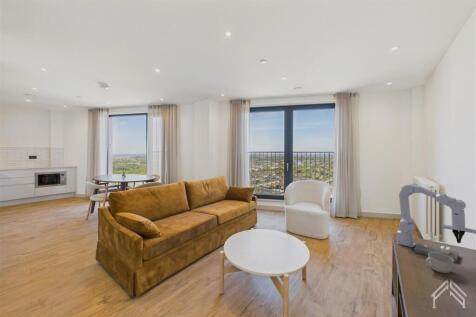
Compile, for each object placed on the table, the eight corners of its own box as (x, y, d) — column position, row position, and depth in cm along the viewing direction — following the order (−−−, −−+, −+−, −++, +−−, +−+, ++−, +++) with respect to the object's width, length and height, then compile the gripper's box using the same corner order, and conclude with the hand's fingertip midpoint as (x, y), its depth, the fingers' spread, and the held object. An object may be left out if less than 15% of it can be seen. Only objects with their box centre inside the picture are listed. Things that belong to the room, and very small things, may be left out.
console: (414, 252, 146) (413, 248, 145) (418, 246, 153) (417, 243, 153) (456, 262, 130) (456, 258, 130) (458, 255, 138) (458, 251, 138)
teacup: (443, 265, 128) (442, 252, 128) (460, 275, 117) (459, 261, 117) (417, 265, 129) (417, 252, 129) (432, 275, 118) (431, 261, 118)
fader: (440, 252, 138) (440, 247, 138) (441, 250, 142) (441, 245, 141) (448, 254, 135) (448, 249, 135) (449, 252, 138) (449, 247, 138)
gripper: (441, 219, 136) (441, 241, 136) (475, 224, 125) (476, 248, 125) (442, 217, 141) (443, 238, 141) (476, 221, 130) (476, 244, 130)
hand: (459, 242), depth 133 cm, fingers closed
